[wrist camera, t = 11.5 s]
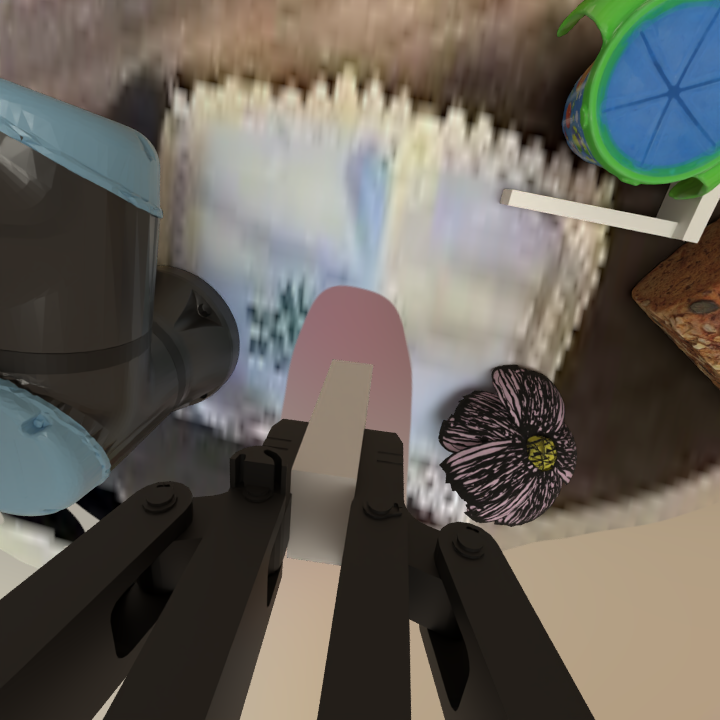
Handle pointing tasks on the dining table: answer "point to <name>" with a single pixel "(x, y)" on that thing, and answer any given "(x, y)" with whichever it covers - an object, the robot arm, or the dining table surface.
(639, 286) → the bread
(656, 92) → the snack cup
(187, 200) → the dining table surface
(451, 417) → the decorative flower
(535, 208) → the fence
